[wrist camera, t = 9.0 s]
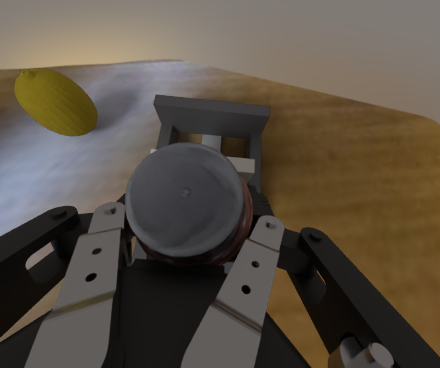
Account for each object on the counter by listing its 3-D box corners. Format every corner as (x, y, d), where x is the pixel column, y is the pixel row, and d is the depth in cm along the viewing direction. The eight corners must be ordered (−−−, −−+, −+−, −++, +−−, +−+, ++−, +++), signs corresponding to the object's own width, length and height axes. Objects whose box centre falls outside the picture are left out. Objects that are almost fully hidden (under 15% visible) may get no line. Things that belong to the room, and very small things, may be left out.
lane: (143, 262, 18) (110, 274, 12) (169, 130, 23) (155, 94, 17) (252, 271, 18) (271, 286, 12) (254, 139, 23) (269, 106, 17)
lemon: (55, 133, 22) (-29, 75, 14) (89, 105, 23) (30, 39, 16) (86, 156, 21) (15, 109, 13) (119, 126, 22) (73, 68, 15)
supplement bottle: (191, 183, 18) (161, 92, 7) (243, 210, 17) (300, 158, 6) (158, 236, 16) (46, 229, 5) (215, 269, 15) (226, 340, 4)
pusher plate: (175, 195, 20) (147, 162, 11) (188, 116, 23) (175, 44, 14) (235, 201, 20) (254, 172, 11) (239, 122, 23) (256, 54, 15)
